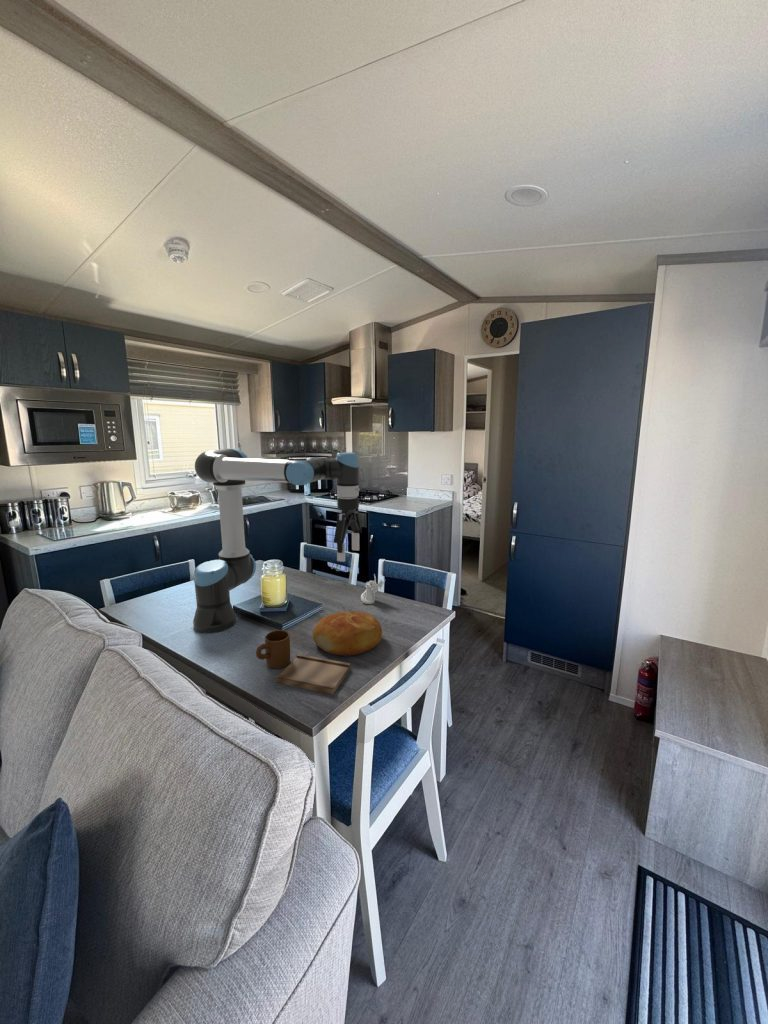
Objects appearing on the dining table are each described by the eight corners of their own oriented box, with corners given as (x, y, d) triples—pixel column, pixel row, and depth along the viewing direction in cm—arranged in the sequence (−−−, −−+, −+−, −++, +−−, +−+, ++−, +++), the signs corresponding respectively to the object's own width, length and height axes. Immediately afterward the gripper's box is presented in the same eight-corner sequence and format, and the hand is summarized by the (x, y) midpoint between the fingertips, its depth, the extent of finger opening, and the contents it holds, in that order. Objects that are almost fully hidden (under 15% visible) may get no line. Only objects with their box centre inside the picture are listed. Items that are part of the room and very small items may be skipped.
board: (276, 682, 125) (276, 676, 125) (298, 659, 137) (298, 653, 137) (332, 694, 120) (332, 687, 119) (350, 669, 132) (350, 663, 132)
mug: (266, 679, 127) (264, 650, 125) (249, 670, 131) (247, 643, 129) (295, 661, 136) (294, 634, 134) (279, 653, 141) (278, 627, 138)
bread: (334, 622, 163) (334, 598, 161) (391, 634, 154) (392, 608, 152) (301, 651, 143) (300, 623, 141) (365, 666, 134) (364, 637, 132)
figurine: (358, 603, 180) (357, 576, 178) (365, 596, 187) (365, 570, 185) (381, 607, 177) (382, 580, 174) (388, 600, 184) (388, 573, 181)
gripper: (344, 504, 136) (344, 567, 141) (370, 492, 160) (370, 546, 164) (322, 502, 139) (324, 564, 143) (351, 491, 162) (352, 545, 166)
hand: (348, 555), depth 154 cm, fingers open, 13 cm apart
